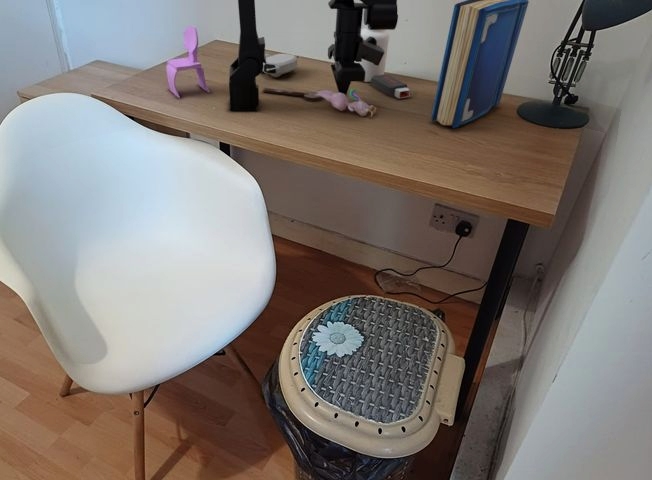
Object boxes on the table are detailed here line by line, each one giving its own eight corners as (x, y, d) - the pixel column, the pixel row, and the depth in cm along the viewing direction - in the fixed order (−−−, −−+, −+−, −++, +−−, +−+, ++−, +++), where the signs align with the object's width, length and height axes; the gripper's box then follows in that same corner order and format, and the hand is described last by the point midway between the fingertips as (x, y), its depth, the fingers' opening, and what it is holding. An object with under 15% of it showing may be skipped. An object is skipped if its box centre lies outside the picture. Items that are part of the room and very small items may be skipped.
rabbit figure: (375, 116, 126) (318, 96, 130) (382, 93, 122) (324, 72, 126) (367, 126, 122) (309, 105, 125) (374, 102, 118) (314, 80, 121)
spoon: (260, 94, 133) (260, 90, 132) (266, 89, 136) (266, 84, 136) (318, 102, 130) (319, 97, 129) (323, 96, 133) (323, 91, 132)
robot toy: (235, 76, 146) (281, 82, 139) (234, 59, 143) (280, 64, 137) (260, 64, 154) (304, 70, 148) (259, 48, 152) (304, 53, 145)
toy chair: (166, 89, 135) (158, 26, 126) (198, 83, 139) (193, 22, 129) (178, 99, 130) (170, 35, 120) (211, 93, 133) (206, 30, 124)
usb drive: (386, 82, 142) (388, 71, 140) (412, 97, 133) (414, 86, 131) (370, 84, 140) (371, 74, 138) (395, 100, 131) (396, 89, 130)
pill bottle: (382, 84, 141) (390, 23, 131) (352, 81, 142) (358, 21, 132) (384, 74, 147) (392, 15, 137) (355, 72, 148) (361, 13, 138)
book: (477, 99, 133) (504, -12, 117) (503, 107, 129) (535, -7, 113) (428, 122, 121) (451, 2, 105) (455, 132, 117) (484, 8, 101)
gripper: (392, 41, 111) (383, 113, 121) (376, 18, 125) (368, 84, 135) (340, 41, 110) (334, 113, 120) (329, 19, 125) (325, 85, 135)
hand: (342, 98), depth 128 cm, fingers closed
